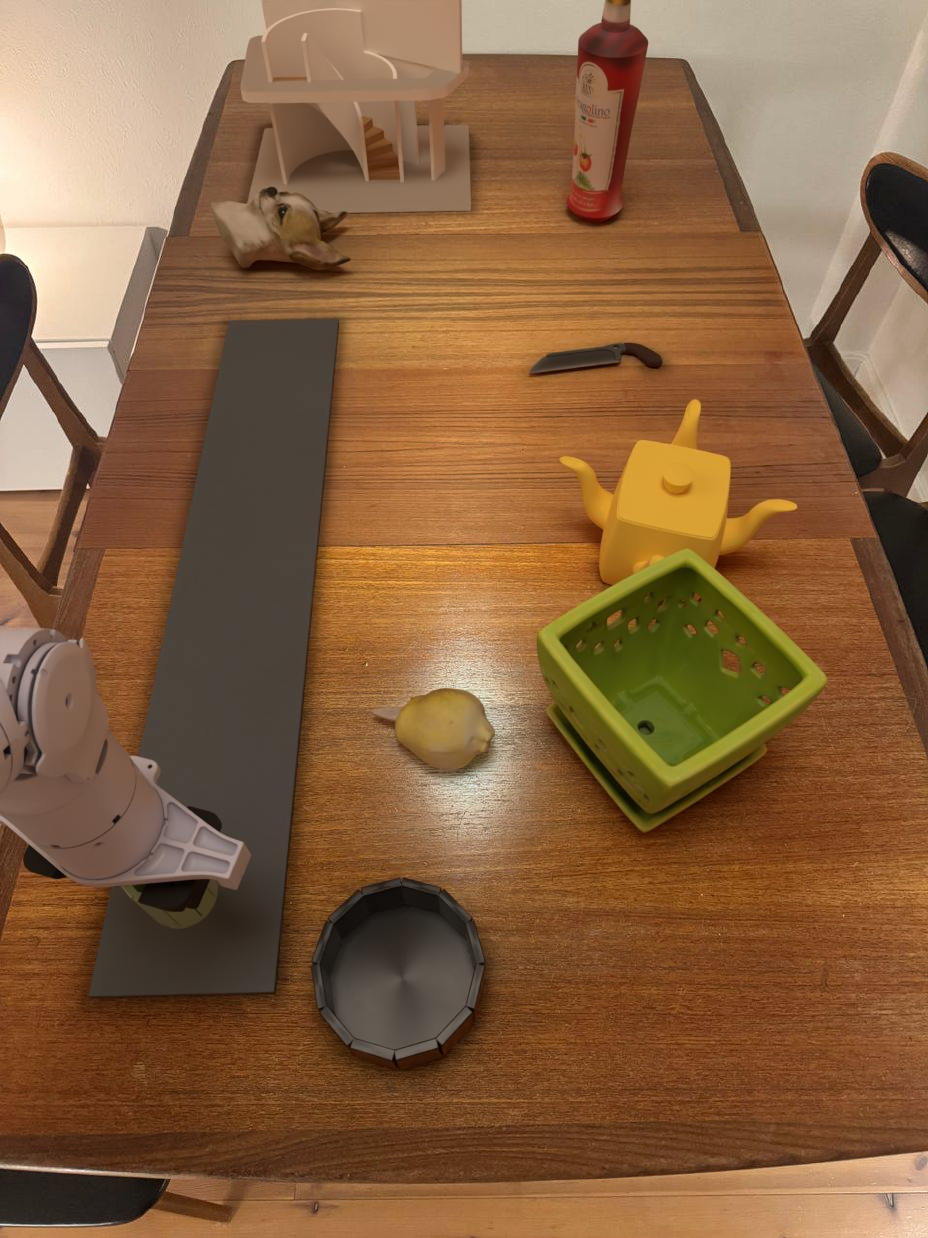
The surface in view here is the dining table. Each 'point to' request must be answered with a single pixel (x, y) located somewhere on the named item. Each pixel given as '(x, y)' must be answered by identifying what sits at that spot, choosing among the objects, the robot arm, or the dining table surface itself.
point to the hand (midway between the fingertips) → (160, 881)
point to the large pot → (399, 973)
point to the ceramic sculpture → (278, 230)
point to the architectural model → (360, 104)
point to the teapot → (668, 505)
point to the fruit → (442, 727)
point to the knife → (595, 357)
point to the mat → (237, 660)
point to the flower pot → (671, 686)
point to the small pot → (177, 918)
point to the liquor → (605, 110)
